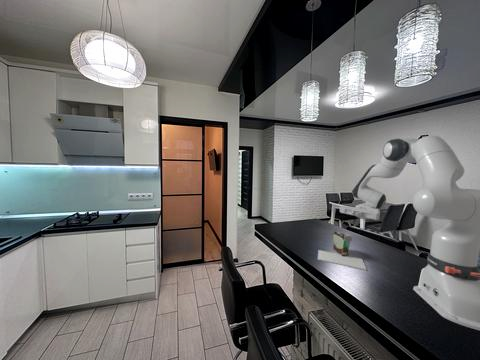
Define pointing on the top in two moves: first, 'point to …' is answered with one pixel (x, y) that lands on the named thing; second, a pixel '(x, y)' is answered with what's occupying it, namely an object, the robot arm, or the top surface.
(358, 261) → the rubber mat
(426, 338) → the top surface
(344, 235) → the food container
